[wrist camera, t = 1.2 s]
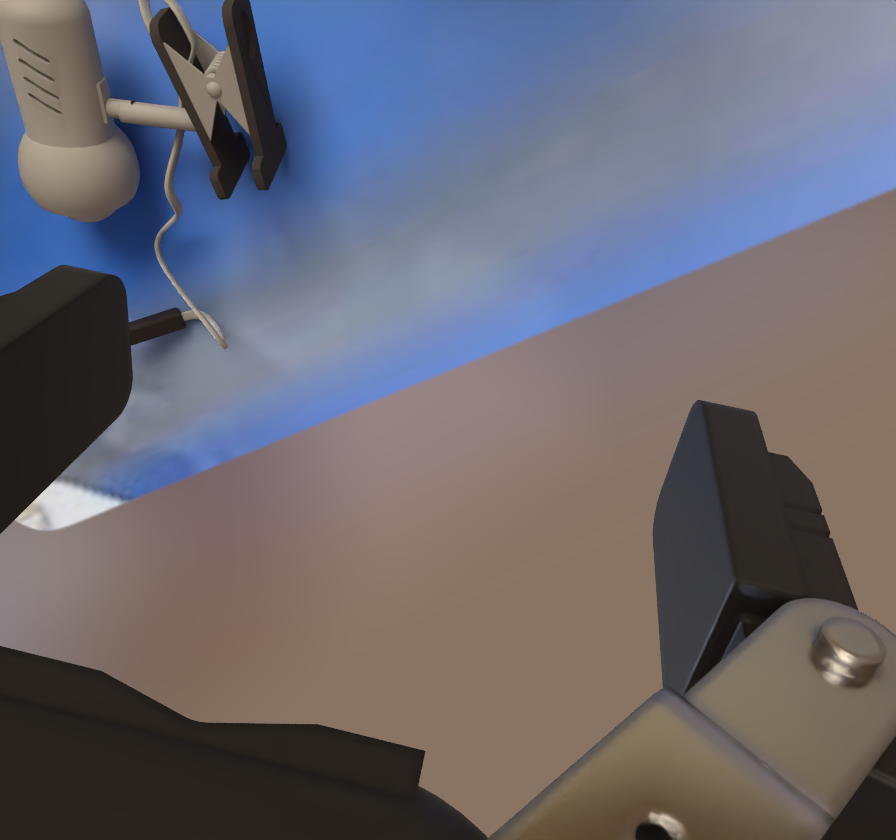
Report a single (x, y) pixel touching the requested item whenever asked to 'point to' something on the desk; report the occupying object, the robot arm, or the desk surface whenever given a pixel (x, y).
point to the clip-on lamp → (133, 117)
